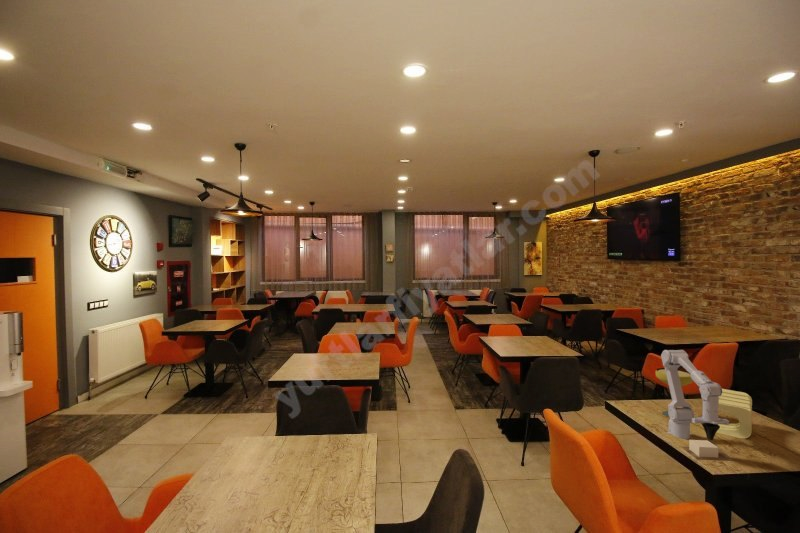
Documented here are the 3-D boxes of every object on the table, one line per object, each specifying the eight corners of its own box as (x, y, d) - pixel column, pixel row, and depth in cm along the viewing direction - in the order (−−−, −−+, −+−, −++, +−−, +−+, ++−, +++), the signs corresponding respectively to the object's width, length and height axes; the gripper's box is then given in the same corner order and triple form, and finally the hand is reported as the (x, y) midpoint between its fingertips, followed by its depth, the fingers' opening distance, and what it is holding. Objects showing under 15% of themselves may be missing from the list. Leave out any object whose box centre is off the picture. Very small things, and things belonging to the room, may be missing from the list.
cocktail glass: (695, 424, 214) (696, 378, 214) (656, 417, 223) (656, 374, 223) (690, 412, 230) (691, 370, 230) (654, 407, 239) (654, 366, 239)
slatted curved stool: (751, 446, 189) (751, 410, 188) (709, 436, 199) (709, 401, 199) (751, 426, 211) (752, 393, 211) (713, 418, 222) (714, 387, 221)
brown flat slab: (680, 449, 186) (680, 446, 186) (716, 451, 184) (717, 447, 184) (697, 462, 174) (697, 459, 174) (736, 464, 173) (736, 461, 172)
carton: (707, 450, 182) (689, 449, 183) (707, 440, 182) (689, 439, 183) (718, 457, 176) (699, 456, 176) (718, 447, 175) (699, 446, 176)
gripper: (699, 412, 175) (698, 442, 176) (734, 413, 174) (733, 443, 174) (689, 406, 182) (688, 435, 183) (722, 407, 181) (722, 436, 181)
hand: (710, 439), depth 179 cm, fingers closed
